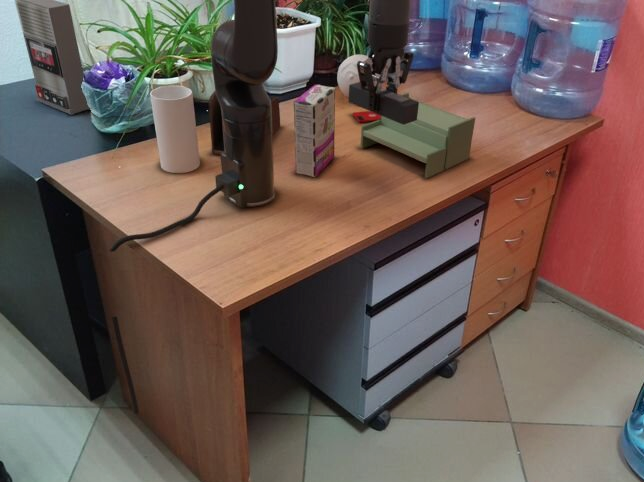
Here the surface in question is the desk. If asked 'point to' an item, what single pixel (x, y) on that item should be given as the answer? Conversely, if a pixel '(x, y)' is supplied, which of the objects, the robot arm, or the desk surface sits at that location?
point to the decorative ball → (350, 73)
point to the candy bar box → (314, 130)
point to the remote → (386, 104)
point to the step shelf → (425, 137)
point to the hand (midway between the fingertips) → (382, 108)
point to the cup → (175, 128)
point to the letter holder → (217, 122)
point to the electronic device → (366, 116)
